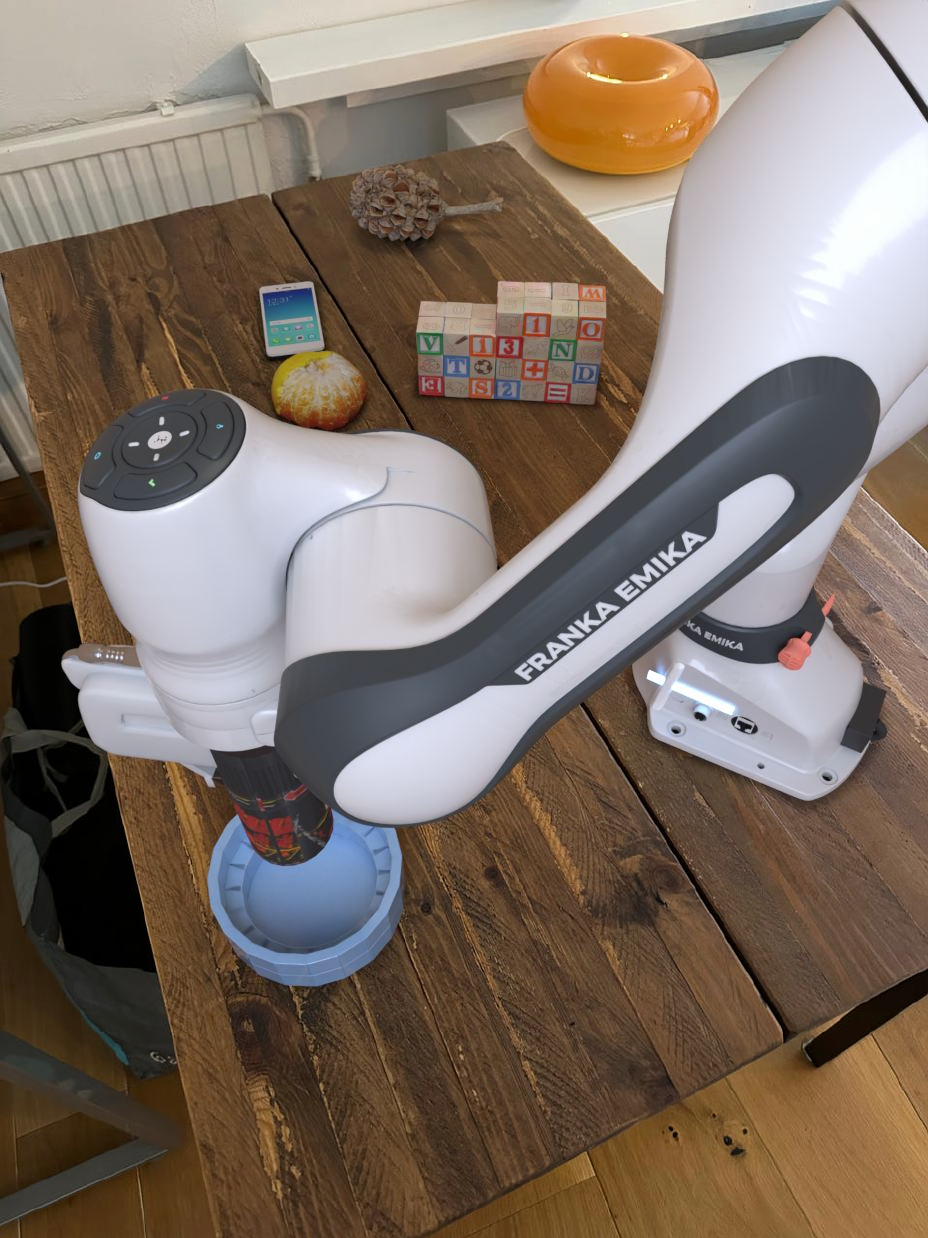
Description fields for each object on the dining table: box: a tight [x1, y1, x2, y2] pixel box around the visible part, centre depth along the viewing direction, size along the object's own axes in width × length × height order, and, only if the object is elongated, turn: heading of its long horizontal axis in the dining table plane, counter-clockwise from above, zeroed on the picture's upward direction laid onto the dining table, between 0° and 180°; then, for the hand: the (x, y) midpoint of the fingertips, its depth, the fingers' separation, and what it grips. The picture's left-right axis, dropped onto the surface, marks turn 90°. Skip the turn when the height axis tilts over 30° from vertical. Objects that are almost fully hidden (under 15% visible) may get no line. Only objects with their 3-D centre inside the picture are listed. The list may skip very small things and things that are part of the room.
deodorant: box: [210, 745, 334, 866], centre depth 60 cm, size 6×6×15 cm
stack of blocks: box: [415, 280, 607, 406], centre depth 111 cm, size 21×6×12 cm, turn 86°
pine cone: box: [348, 163, 508, 242], centre depth 132 cm, size 22×10×10 cm, turn 94°
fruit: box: [270, 350, 368, 432], centre depth 111 cm, size 11×10×8 cm
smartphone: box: [258, 280, 326, 361], centre depth 123 cm, size 8×1×15 cm
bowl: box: [206, 809, 407, 987], centre depth 74 cm, size 15×15×6 cm
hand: (278, 785), depth 61 cm, fingers closed on deodorant, 6 cm apart
